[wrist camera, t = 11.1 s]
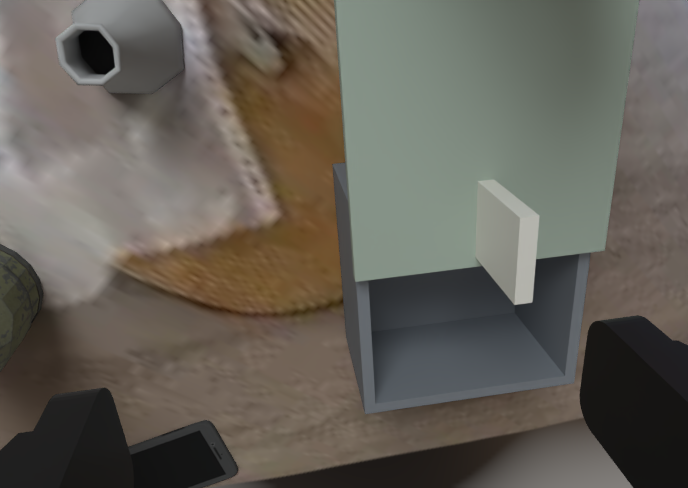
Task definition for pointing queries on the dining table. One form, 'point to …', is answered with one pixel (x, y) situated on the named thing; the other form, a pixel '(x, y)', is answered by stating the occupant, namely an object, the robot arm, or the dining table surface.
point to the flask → (122, 45)
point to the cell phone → (182, 459)
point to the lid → (480, 131)
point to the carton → (457, 328)
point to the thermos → (16, 301)
